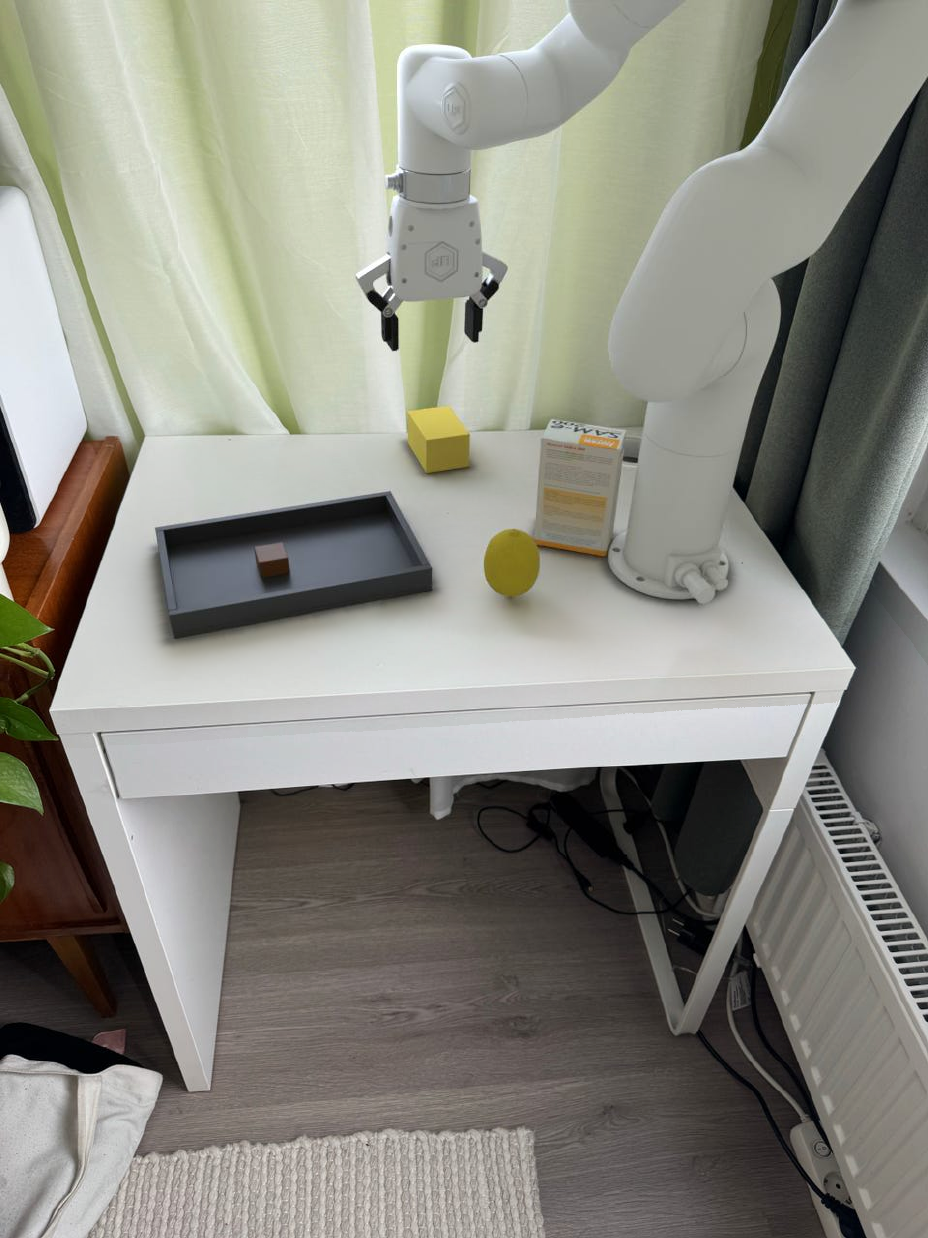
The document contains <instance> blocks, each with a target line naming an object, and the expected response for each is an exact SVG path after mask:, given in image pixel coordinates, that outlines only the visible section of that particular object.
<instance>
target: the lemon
mask: <svg viewBox="0 0 928 1238" xmlns="http://www.w3.org/2000/svg"><path fill="white" fill-rule="evenodd" d="M539 551H540V550H539V548H538V545H536V543H535V541H534V538H533V537H532V536H531V535H530V534H528V533H527V532H526V531H525V530H522V529H518V528H508V529H504V530H501V531H499V532H498V533H496V534H495V535H494V536H493V537H492V538H491V539H490V541H489V542H488V544H487V546H486V550H485V552H484V553H485V554H484V558H483V572H484V577H485V580H486V582H487V584H488V585H489V587H490V588H491V589H492V590H493V591H494V592H496V593H497V594H499V595H500V596H504V597H508V598H514V597H518V596H522V595H524V594H526V593H527V592H528V591H530V590H531V588H532V587H533V586H535V583H536V581H537V579H538V577H539V574H540V567H541V564H540V563H541V558H540V552H539Z"/></svg>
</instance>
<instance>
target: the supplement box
mask: <svg viewBox="0 0 928 1238" xmlns="http://www.w3.org/2000/svg"><path fill="white" fill-rule="evenodd" d="M626 438H627V430H626V429H621V428H614V427H607V426H600V425H595V424H586V423H580V422H575V421H574V422H573V421H567V420H561V419H553V418H551V419H550V420H549V422H548V424H547V426H546V428H545V429H544V432H543V434H542V435H541V438H540V448H539V449H540V451H539V465H538V477H537V479H538V480H537V490H536V491H537V493H536V505H535V507H536V508H535V520H534V521H535V522H534V538H533V539H534V541H535V543H536V545H537V546H542V547H543V546H544V547H548V548H553V549H559V550H566V551H572V552H577V553H582V554H589V555H593V556H599V557H605V558H606V557H607V556H608V552H609V547H610V544H611V542H612V540H613V535H614V528H615V522H616V515H617V514H616V513H617V505H618V498H619V491H620V484H621V476H622V469H623V462H624V454H625V445H626Z"/></svg>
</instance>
